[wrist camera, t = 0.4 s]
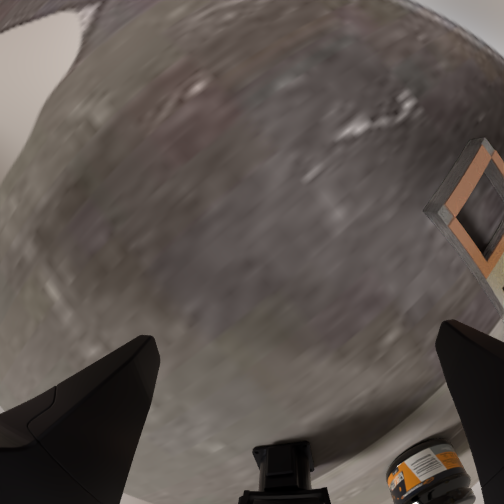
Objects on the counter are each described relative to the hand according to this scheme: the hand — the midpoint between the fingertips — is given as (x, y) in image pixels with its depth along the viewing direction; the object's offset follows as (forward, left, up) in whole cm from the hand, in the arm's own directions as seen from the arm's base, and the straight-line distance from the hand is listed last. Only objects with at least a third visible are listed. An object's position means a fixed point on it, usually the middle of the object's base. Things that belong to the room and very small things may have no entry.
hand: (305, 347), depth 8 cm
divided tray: (-5, -22, -15) cm, 27 cm away
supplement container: (-34, -13, -15) cm, 40 cm away
